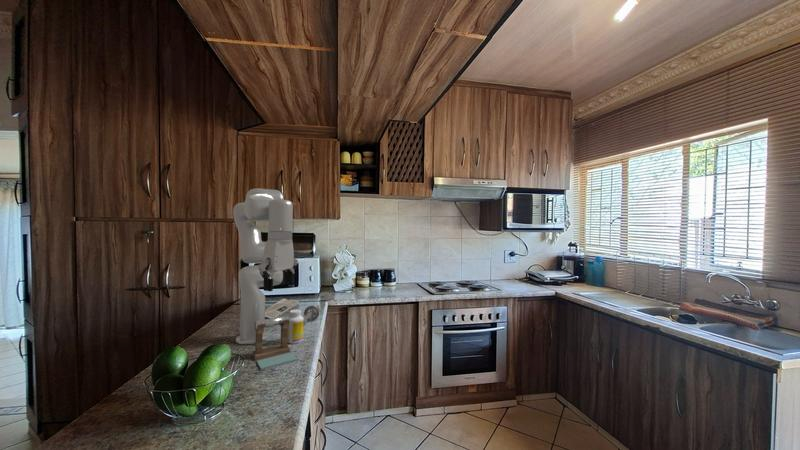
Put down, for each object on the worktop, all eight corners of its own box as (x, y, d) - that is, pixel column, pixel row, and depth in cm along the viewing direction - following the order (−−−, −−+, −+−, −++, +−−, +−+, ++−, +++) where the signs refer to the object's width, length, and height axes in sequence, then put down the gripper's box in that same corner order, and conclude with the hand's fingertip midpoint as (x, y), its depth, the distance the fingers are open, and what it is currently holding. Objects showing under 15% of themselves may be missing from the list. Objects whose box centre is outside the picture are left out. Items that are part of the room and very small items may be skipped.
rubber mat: (256, 362, 101) (256, 360, 101) (291, 353, 109) (291, 352, 109) (261, 370, 96) (261, 368, 96) (297, 360, 103) (297, 358, 103)
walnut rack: (252, 354, 107) (253, 321, 107) (285, 347, 115) (286, 316, 115) (255, 360, 102) (256, 325, 103) (290, 352, 110) (290, 319, 110)
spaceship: (291, 316, 130) (308, 309, 131) (309, 304, 164) (322, 298, 165) (297, 332, 129) (314, 325, 130) (313, 317, 164) (327, 311, 165)
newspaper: (271, 321, 147) (271, 314, 147) (248, 320, 148) (248, 314, 148) (300, 304, 182) (300, 298, 183) (281, 303, 183) (281, 297, 184)
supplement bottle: (306, 339, 123) (306, 309, 123) (297, 345, 117) (297, 313, 117) (293, 337, 125) (293, 308, 125) (283, 343, 119) (283, 312, 119)
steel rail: (257, 330, 104) (257, 322, 104) (255, 327, 107) (255, 319, 106) (288, 324, 111) (288, 317, 111) (285, 321, 113) (286, 314, 113)
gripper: (288, 235, 105) (287, 282, 105) (250, 237, 88) (249, 292, 88) (305, 236, 102) (304, 283, 102) (270, 237, 86) (268, 294, 86)
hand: (279, 287), depth 95 cm, fingers open, 9 cm apart
